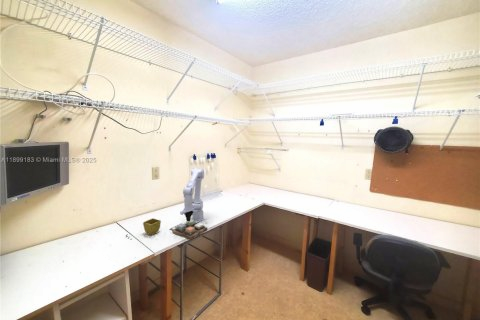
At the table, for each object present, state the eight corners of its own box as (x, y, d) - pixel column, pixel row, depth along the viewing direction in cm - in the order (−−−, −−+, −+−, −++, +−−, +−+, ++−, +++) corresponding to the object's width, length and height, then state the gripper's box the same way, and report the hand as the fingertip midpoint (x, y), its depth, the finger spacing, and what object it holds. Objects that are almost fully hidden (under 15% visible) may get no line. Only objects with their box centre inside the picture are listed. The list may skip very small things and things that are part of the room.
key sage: (190, 222, 156) (190, 219, 156) (194, 223, 154) (194, 220, 154) (186, 224, 152) (186, 221, 152) (190, 225, 150) (190, 222, 150)
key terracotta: (189, 229, 144) (189, 226, 144) (194, 230, 142) (194, 227, 142) (185, 231, 141) (185, 228, 140) (190, 233, 138) (190, 230, 138)
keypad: (189, 224, 160) (189, 220, 159) (207, 229, 151) (207, 225, 151) (172, 233, 144) (172, 228, 144) (190, 240, 135) (190, 235, 135)
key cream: (198, 226, 152) (198, 223, 152) (202, 227, 150) (202, 224, 150) (194, 228, 149) (194, 225, 148) (198, 229, 146) (198, 226, 146)
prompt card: (181, 223, 160) (181, 223, 160) (184, 224, 158) (184, 224, 158) (169, 229, 150) (169, 228, 150) (173, 230, 148) (173, 230, 148)
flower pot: (142, 234, 142) (142, 222, 141) (152, 229, 149) (152, 217, 148) (151, 237, 138) (151, 224, 137) (161, 232, 146) (161, 220, 145)
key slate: (182, 226, 148) (181, 223, 148) (186, 228, 146) (186, 225, 146) (177, 229, 144) (177, 225, 144) (181, 230, 142) (181, 227, 142)
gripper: (191, 199, 153) (191, 216, 154) (177, 205, 140) (177, 223, 142) (198, 201, 150) (198, 218, 151) (184, 206, 137) (184, 225, 138)
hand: (188, 221), depth 146 cm, fingers closed
